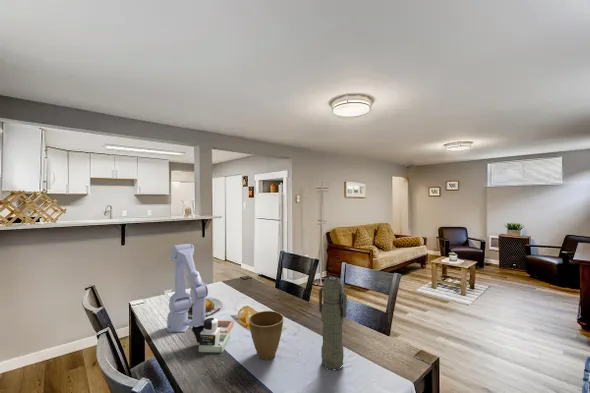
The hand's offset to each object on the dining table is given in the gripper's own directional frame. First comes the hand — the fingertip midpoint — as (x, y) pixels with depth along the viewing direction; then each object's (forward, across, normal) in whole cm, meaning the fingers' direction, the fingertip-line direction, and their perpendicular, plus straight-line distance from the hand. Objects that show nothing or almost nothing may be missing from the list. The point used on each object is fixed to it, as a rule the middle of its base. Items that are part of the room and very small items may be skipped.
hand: (199, 341), depth 129 cm
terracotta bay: (+1, +5, +14) cm, 15 cm away
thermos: (+2, +60, -12) cm, 61 cm away
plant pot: (+2, +32, -7) cm, 33 cm away
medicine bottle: (+1, +5, -1) cm, 6 cm away
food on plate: (+2, -15, +40) cm, 43 cm away
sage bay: (+2, +7, 0) cm, 7 cm away
